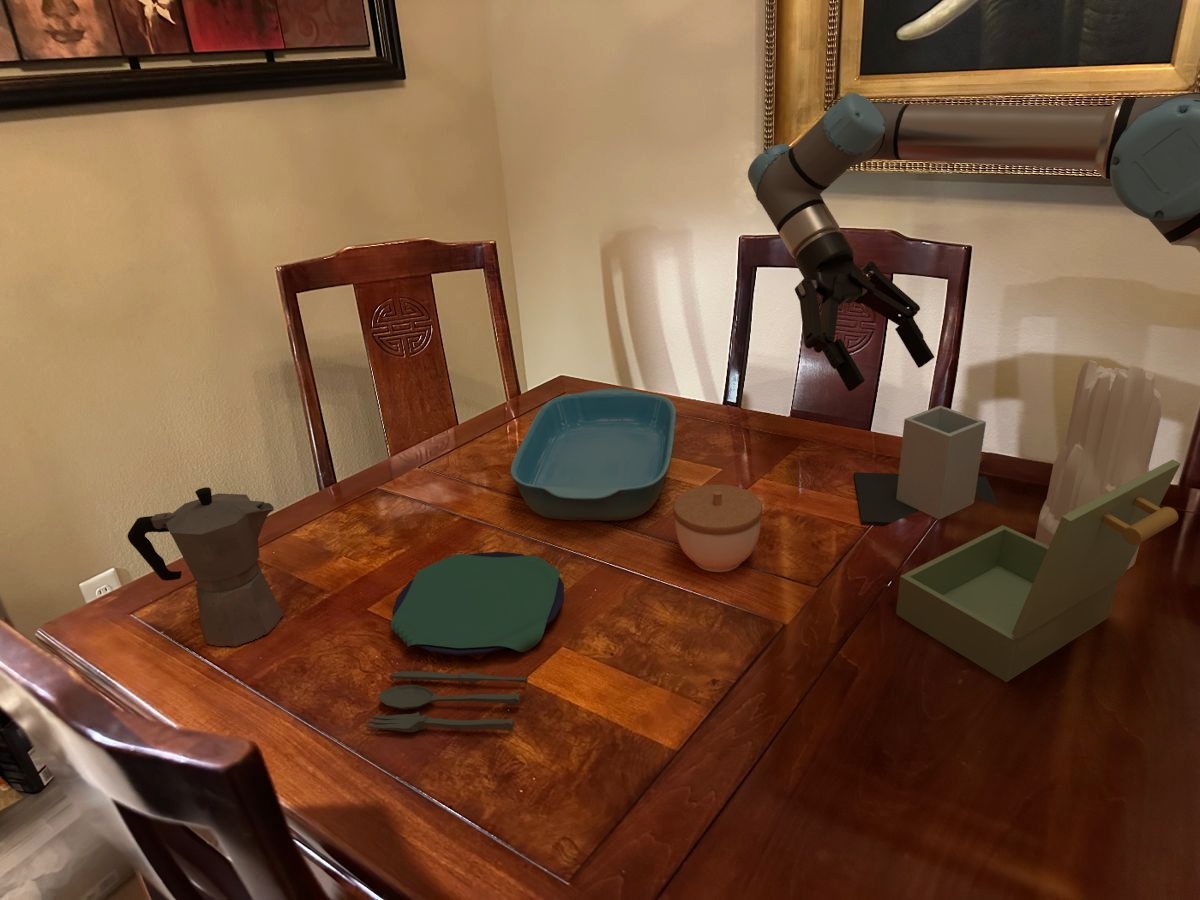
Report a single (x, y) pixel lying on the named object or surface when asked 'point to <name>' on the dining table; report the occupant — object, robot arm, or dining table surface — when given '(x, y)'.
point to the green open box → (992, 603)
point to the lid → (1097, 545)
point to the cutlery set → (469, 626)
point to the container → (940, 461)
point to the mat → (881, 495)
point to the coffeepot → (218, 563)
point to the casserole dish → (596, 455)
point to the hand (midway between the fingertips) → (892, 374)
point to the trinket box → (717, 525)
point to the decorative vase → (1102, 441)
